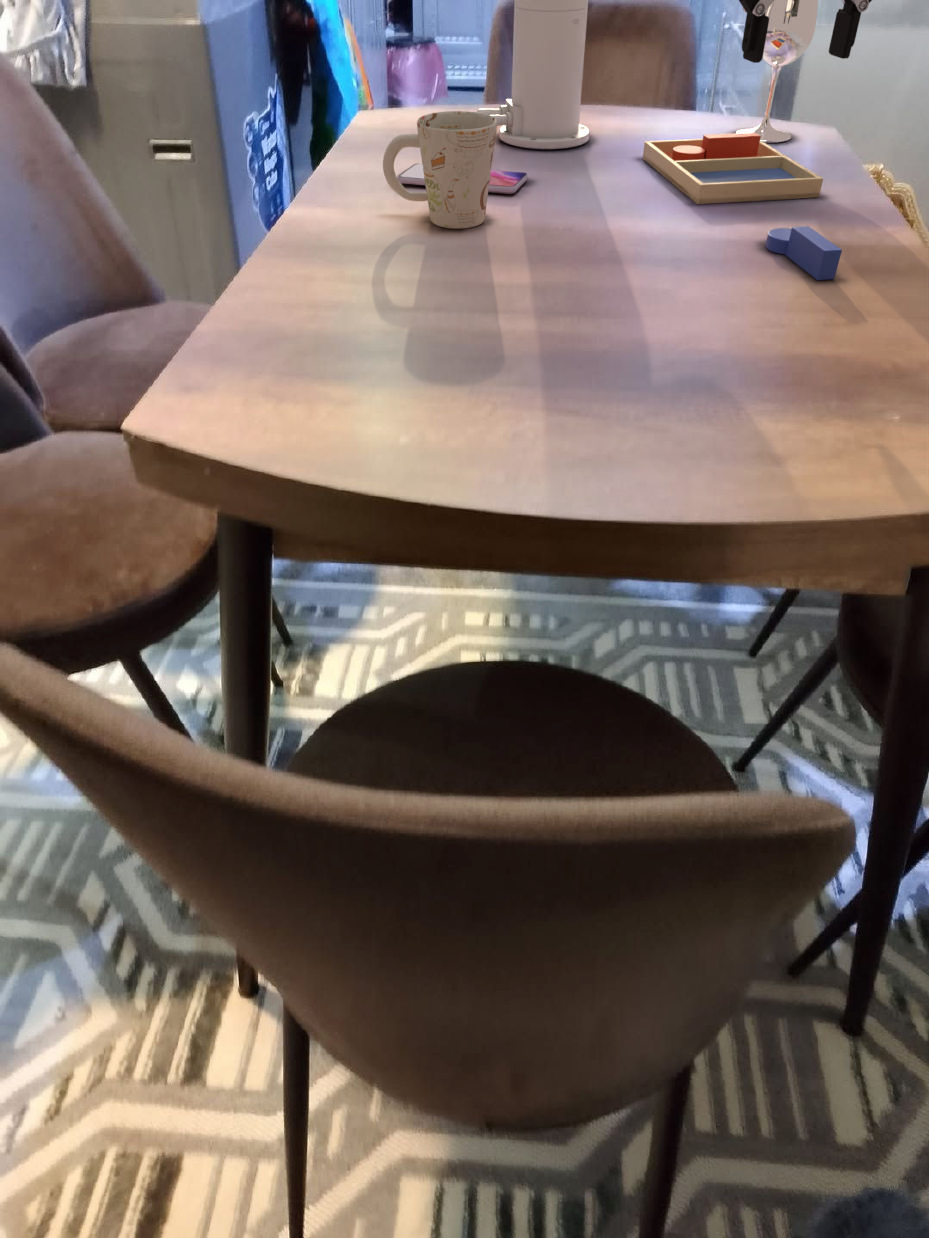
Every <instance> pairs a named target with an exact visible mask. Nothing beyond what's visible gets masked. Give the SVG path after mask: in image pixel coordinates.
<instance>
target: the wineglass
mask: <svg viewBox="0 0 929 1238" xmlns="http://www.w3.org/2000/svg"><path fill="white" fill-rule="evenodd" d="M818 7H819V0H774V2H773V3H772V4H771V5H770V7H769V8H768V9H767V10H766V12H765V16H768V18H769V24H768V30H767V35H766V41H765V47H764V52H763V58H762V61H763V62H764V63H765V64H767V65H768V66H770V68H771V69H770V70H771V75H770V76H771V77H770V85H769V90H768V95H767V101H766V106H765V111H764V115H763V117H762V120H761V122H760V123H759V125H758V126H756V127H755V126H754V127H753V126H752V127H751V126H750V127H744V128H741V129H738V130H736V132H735V133H757V134H758V135H760V136H761V137H760V140H761V141H762V142H764V143H765V144H776V143H783V142H786V141H790V140H791V138H792V135H791V133H789V132H787V131H785V130H782V129H779V128H773V126H772V125H771V121H770V119H771V118H770V117H771V110H772V107H773V106H772V105H773V101H774V96H775V91H776V86H777V81H778V79H779V75H780V72H781V70H782V68H783V67H785V66H786V67H787V66H788V65H790V64H792V63H793V62H795V61H796V60H798V59H799V58H800V57H801V56H802V55H803V54H804V53H805V51H806V50H807V49H808V48H809V46H810V45H811V43H812V40H813V37H814V34H815V31H816V24H817V17H818V9H819V8H818Z"/></svg>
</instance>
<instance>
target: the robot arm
mask: <svg viewBox="0 0 929 1238" xmlns="http://www.w3.org/2000/svg"><path fill="white" fill-rule="evenodd" d="M872 1H873V0H841V3H842V4H843V7H842V8H838V9H837V12H836V15H835V19H834V20H835V21H834V24H833V28H832V35H831V38H830V43H829V48H828V54H830V55H831V56H834V57H836V58H840V59H849V58H850V56H851V51H852V47H854V45H855V42H856V37H857V33H858V29H859V25H860V21H861V16H862V13H864V12H866V11H867V10H868V8H869V6H870V3H871V2H872ZM738 2H739V3H740V5H741V7H742V10H743V12H744V13H746V17H745V21H744V28H743V35H742V42H741V51H742V52H743V53H742V58H743V59H744V60H746V61H749V62H751V63H753V64H759V63H761V61H763V60H762V58H763V52H764V47H765V41H766V35H767V30H768V24H769V18H768V16H765V12H766V10H767V9H768V8H769V7H770V5H771V4H772V3H773V2H774V0H738ZM513 3H514V4H513V6H514V7H513V8H514V9H513V34H512V35H513V41H512V72H511V73H512V74H511V98H506V99H505V105H504V104H503V105H499V108H490V107H488V108H477V110H476V112H478V113H483V114H487V115H490V116H492V117H494V118H495V119H496V121H497V127H500V128H499V139H500V141H502V142H503V143H505V144H508V145H511V146H514V147H519V148H524V149H532V150H533V149H534V150H561V149H570V148H574V147H579V146H582V145H584V144H586V143H587V142H589V140H590V132H591V131H590V129H589V128H588V126H586V125H583V124H581V123H580V117H581V103H582V91H583V90H582V89H583V78H584V77H583V76H584V63H585V50H586V49H585V48H586V37H587V24H588V23H587V22H588V12H589V11H588V9H589V0H513Z"/></svg>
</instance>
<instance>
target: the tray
mask: <svg viewBox="0 0 929 1238" xmlns="http://www.w3.org/2000/svg"><path fill="white" fill-rule="evenodd" d="M702 141H703V138H689V139H666V140H646V141H645V140H644V144H643V153H642V160H643V161H645V163H647V164H648V165H650V167H652V168H653V169H654V170H656V171H657V172H658V173H659V174H660V175H662V176H663V177H664V178H665V179H666V180H667V181H669V182H670V183H671V184H672V185H674V186H675V187H676V188H677V189H678V190H679V191H681V192H682V193H683V194H684V195H686V196H687V198H689V199H691V200H692V201H693V202H694V203H695V204H696V205H705V204H721V203H722V204H724V203H738V202H739V203H740V202H743V203H744V202H756V201H757V202H758V201H759V202H760V201H775V200H794V199H795V200H796V199H811V198H812V199H813V198H820V196H821V195H820V194H821V190H822V185H823V181H824V178H823V177H822V176H820V175H818V174H817V173H815V172H814V171H812V170H811V169H809V168H807V167H805V166H803V165H802V164H800V163H798V162H797V161H796V160H794V159H792V158H790V157H789V156H787V155H785V154H784V153H782V152H780V151H779V150H778V149H775V148H774V147H772V146H771V145H769V144H768V143H764V142H762V141H761V140H760V143H759V148H758V153H757V157H742V158H722V159H702V160H682V161H674V160H672V153H673V148H674V147H677V146H683V145H690V146H697V147H701V148H702Z"/></svg>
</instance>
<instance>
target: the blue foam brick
mask: <svg viewBox="0 0 929 1238" xmlns="http://www.w3.org/2000/svg"><path fill="white" fill-rule="evenodd" d="M766 235H767V237H766V241H765V245H764V246H765V249H767V250H768V251H770V252H771V253H772V252H773V253H775V254H780V255H785V256H786V257H787V259H789V260H791V261H792V262H794V263H795V264H796V265H797V266H798V267H800V268H801V269H802V270H804V272H806V273H807V274H809V276H811V277H812V278H814V279H815V281H826V280H827V281H828V280H835V278H836V274H837V271H838V266H839V264H840V259H841V256H842V251H843V249H841V248H840V247H839V246H837V245H836V244H835V243H833V242H832V241H831V240H829V239H827V238H826V237H825V236H823V235H821V234H820V233H819V232H818V231H817V230H814V229H813V228H812V227H811V226H809V225H804V226H792V227H791V228H788V227H778V228H772V229H770V230H769V231H768V232H767V234H766Z"/></svg>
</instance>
